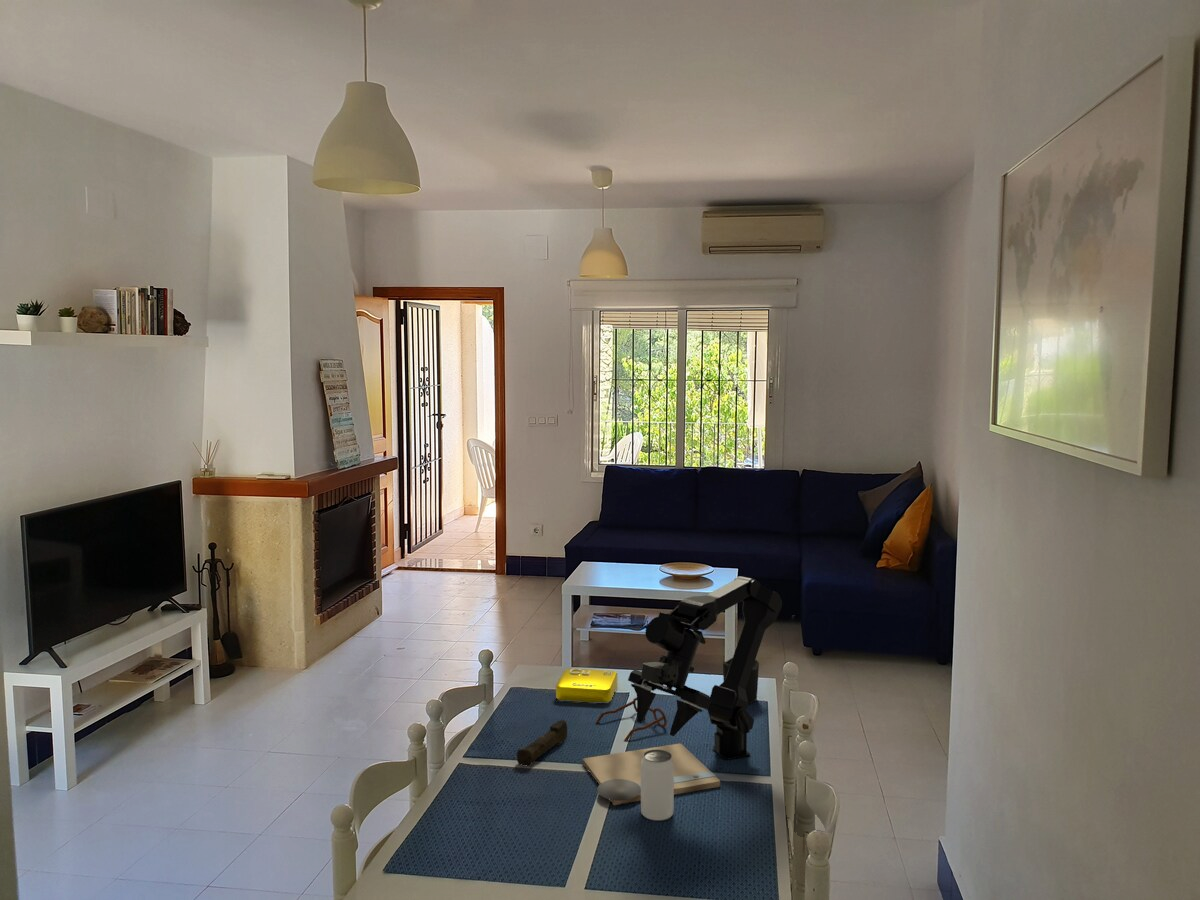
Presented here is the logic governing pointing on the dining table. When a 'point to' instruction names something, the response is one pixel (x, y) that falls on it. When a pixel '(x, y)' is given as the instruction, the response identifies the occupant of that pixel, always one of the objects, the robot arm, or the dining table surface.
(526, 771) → the dining table surface
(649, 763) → the can
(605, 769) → the subfloor panel
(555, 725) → the hand tool
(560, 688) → the element tile
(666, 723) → the glasses
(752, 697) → the pen holder
